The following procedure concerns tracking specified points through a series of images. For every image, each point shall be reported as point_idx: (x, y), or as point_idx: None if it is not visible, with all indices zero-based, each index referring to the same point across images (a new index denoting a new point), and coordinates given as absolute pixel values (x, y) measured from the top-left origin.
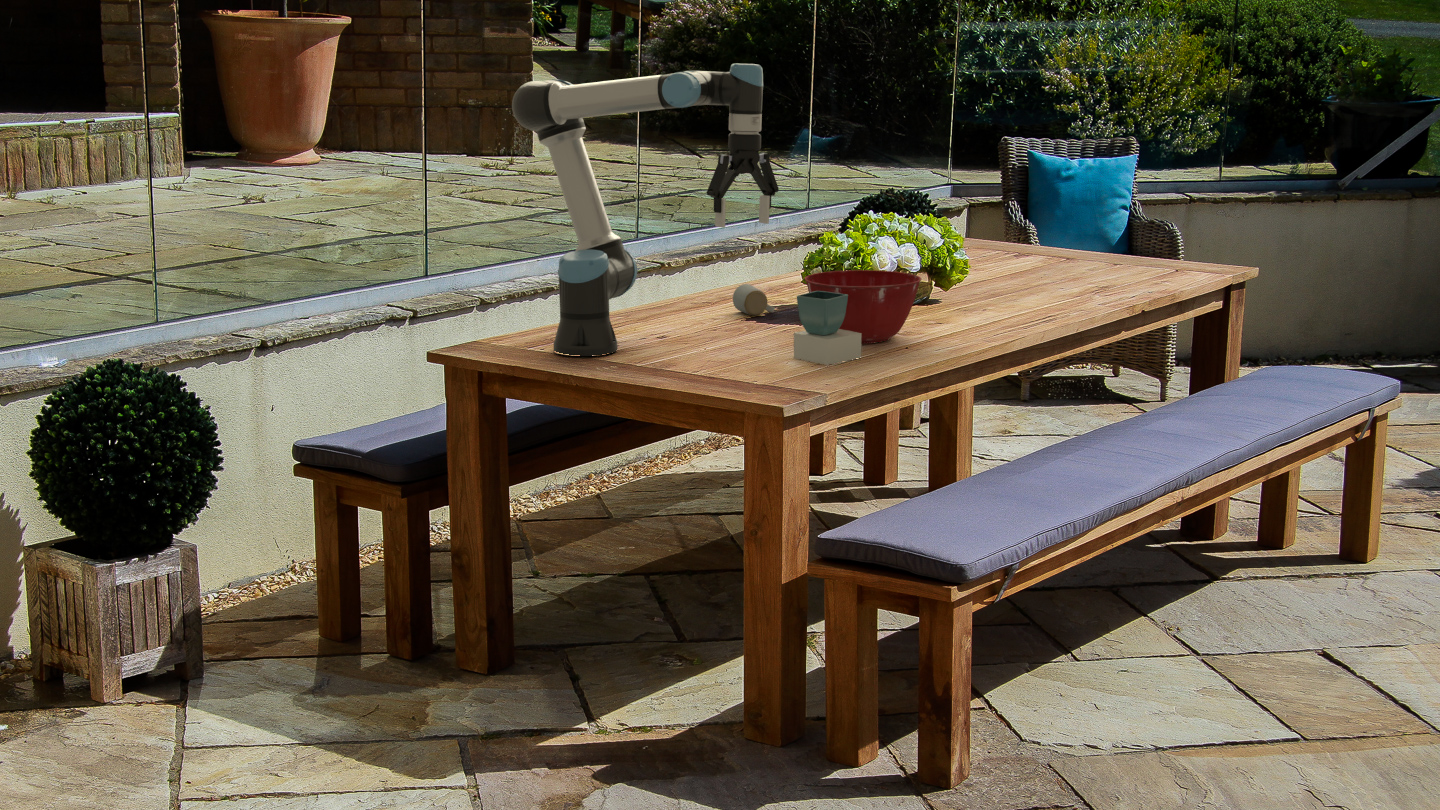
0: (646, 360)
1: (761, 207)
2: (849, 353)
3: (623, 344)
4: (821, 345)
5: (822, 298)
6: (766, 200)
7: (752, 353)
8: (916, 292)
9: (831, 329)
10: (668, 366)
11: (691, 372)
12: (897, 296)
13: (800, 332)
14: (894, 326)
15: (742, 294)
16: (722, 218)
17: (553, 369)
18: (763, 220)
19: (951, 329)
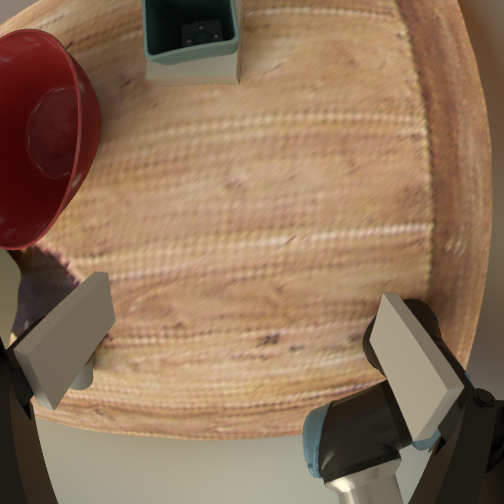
0: (403, 243)
1: (79, 351)
2: None
3: (340, 338)
4: (241, 15)
5: (153, 49)
6: (45, 343)
7: (260, 159)
8: None
9: (204, 13)
10: (414, 191)
11: (421, 139)
12: (26, 40)
13: (226, 68)
14: (46, 68)
15: (84, 374)
16: (413, 318)
17: (481, 281)
18: (105, 299)
19: None
